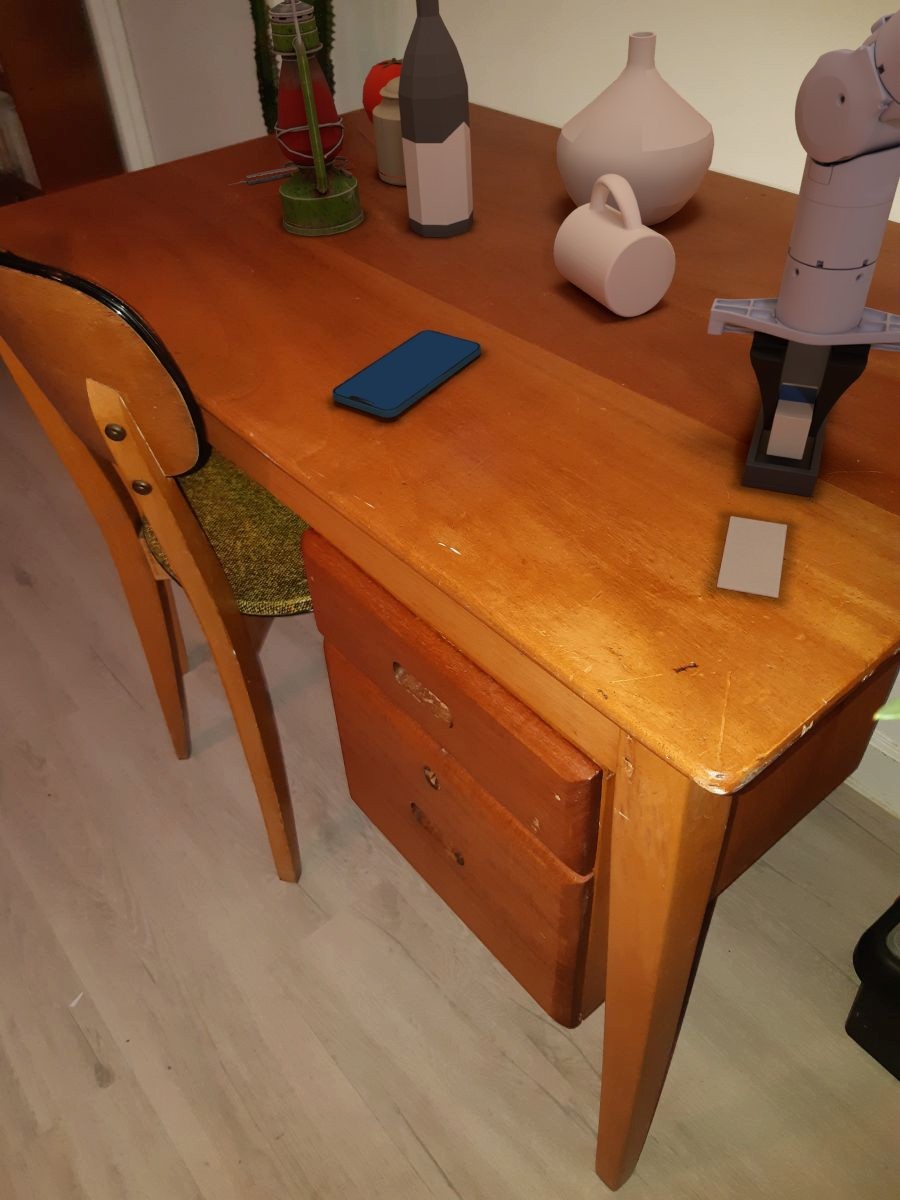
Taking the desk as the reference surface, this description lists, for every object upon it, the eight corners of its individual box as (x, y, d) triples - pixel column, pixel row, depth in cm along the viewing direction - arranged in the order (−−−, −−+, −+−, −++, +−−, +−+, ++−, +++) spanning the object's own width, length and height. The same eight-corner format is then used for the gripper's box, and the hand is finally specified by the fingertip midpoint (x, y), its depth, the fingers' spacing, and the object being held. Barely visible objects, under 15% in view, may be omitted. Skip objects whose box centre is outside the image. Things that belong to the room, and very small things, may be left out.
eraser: (801, 460, 67) (811, 420, 65) (765, 454, 68) (774, 414, 66) (808, 426, 70) (818, 386, 68) (773, 421, 71) (782, 381, 69)
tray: (811, 497, 67) (817, 475, 65) (741, 485, 68) (745, 464, 67) (845, 297, 90) (850, 278, 88) (792, 292, 91) (796, 273, 90)
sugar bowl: (356, 164, 130) (341, 46, 120) (423, 149, 133) (414, 33, 123) (398, 192, 120) (386, 67, 110) (469, 175, 123) (464, 52, 113)
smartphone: (485, 344, 85) (390, 413, 77) (485, 353, 86) (391, 423, 77) (424, 327, 89) (326, 392, 80) (425, 336, 89) (328, 401, 81)
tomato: (452, 123, 142) (448, 49, 135) (400, 146, 135) (393, 69, 128) (400, 114, 147) (394, 43, 140) (347, 135, 140) (338, 61, 133)
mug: (602, 326, 88) (610, 203, 80) (551, 289, 95) (553, 171, 87) (671, 306, 91) (686, 184, 82) (616, 271, 98) (624, 155, 89)
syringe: (222, 183, 127) (219, 171, 126) (339, 159, 132) (337, 146, 131) (235, 199, 122) (233, 186, 121) (357, 173, 127) (355, 160, 126)
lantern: (373, 232, 110) (338, -66, 90) (289, 246, 109) (233, -54, 88) (354, 196, 120) (319, -80, 99) (277, 207, 119) (225, -70, 98)
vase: (667, 253, 100) (688, 61, 87) (528, 227, 108) (528, 48, 95) (727, 199, 111) (754, 21, 98) (596, 179, 119) (605, 12, 106)
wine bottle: (434, 210, 115) (413, -79, 94) (486, 219, 111) (477, -79, 90) (397, 231, 110) (367, -67, 89) (450, 243, 106) (431, -66, 86)
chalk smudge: (777, 598, 59) (778, 597, 59) (716, 587, 60) (716, 586, 60) (786, 526, 64) (787, 524, 64) (730, 517, 65) (730, 516, 65)
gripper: (951, 239, 59) (893, 414, 69) (730, 222, 64) (705, 388, 73) (951, 282, 55) (890, 464, 64) (714, 260, 59) (689, 433, 69)
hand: (790, 427), depth 68 cm, fingers closed on eraser, 3 cm apart
